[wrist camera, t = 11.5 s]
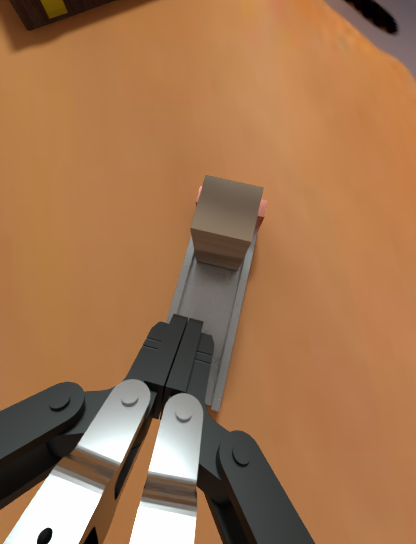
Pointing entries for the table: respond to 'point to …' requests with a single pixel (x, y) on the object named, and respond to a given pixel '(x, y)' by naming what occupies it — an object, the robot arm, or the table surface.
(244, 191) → the slider block
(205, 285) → the track
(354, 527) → the table surface
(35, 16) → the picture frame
